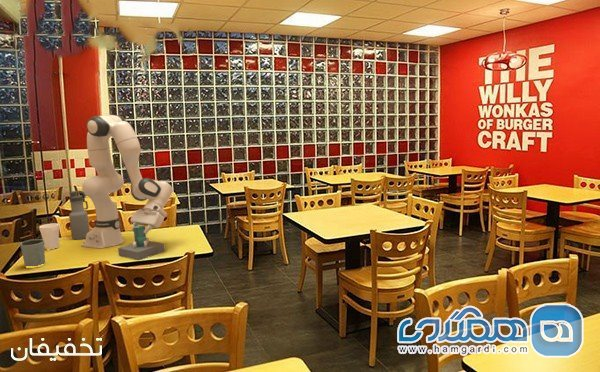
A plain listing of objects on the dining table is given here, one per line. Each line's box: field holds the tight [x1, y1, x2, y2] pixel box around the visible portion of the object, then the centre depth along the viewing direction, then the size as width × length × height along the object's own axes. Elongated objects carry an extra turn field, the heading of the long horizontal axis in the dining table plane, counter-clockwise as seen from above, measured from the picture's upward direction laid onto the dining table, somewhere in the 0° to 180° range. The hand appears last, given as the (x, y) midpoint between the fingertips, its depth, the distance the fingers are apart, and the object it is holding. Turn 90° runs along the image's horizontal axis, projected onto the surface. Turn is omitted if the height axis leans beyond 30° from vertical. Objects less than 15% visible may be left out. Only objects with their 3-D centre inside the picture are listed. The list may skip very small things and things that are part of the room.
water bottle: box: [68, 190, 91, 241], centre depth 267 cm, size 10×10×28 cm
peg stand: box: [117, 237, 166, 261], centre depth 233 cm, size 16×16×7 cm
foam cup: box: [38, 222, 60, 250], centre depth 248 cm, size 10×9×13 cm
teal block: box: [132, 225, 147, 247], centre depth 232 cm, size 4×4×10 cm
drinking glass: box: [20, 238, 46, 267], centre depth 220 cm, size 10×10×12 cm
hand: (138, 232), depth 231 cm, fingers open, 8 cm apart
